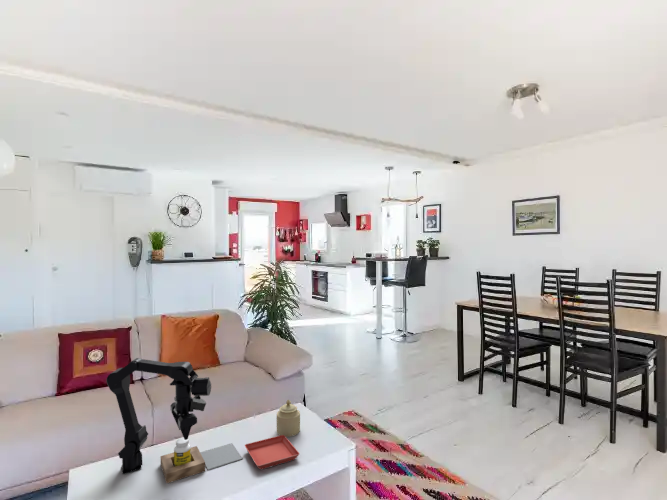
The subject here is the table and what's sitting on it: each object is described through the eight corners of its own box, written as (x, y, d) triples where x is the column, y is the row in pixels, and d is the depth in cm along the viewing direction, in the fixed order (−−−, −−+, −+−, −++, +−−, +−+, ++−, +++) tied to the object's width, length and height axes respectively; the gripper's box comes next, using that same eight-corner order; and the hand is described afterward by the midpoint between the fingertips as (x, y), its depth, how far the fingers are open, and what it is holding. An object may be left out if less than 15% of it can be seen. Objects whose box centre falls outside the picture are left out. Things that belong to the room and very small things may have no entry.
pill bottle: (174, 474, 146) (174, 446, 146) (173, 466, 152) (173, 438, 151) (191, 470, 149) (191, 442, 149) (189, 461, 154) (189, 434, 154)
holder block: (166, 483, 141) (166, 474, 141) (160, 464, 152) (160, 456, 152) (205, 471, 148) (205, 462, 148) (196, 454, 160) (196, 445, 160)
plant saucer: (283, 441, 171) (283, 433, 171) (300, 461, 155) (300, 453, 155) (244, 452, 162) (244, 444, 162) (257, 474, 146) (257, 466, 146)
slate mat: (207, 470, 149) (207, 469, 149) (199, 453, 160) (199, 452, 160) (242, 459, 156) (242, 458, 156) (232, 443, 168) (232, 443, 168)
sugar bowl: (269, 425, 184) (269, 395, 184) (290, 420, 190) (290, 390, 190) (282, 439, 172) (282, 406, 172) (304, 432, 178) (304, 400, 177)
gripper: (210, 398, 147) (210, 438, 148) (197, 383, 163) (198, 419, 163) (180, 405, 141) (180, 447, 141) (170, 389, 157) (170, 426, 157)
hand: (183, 434), depth 151 cm, fingers open, 9 cm apart
